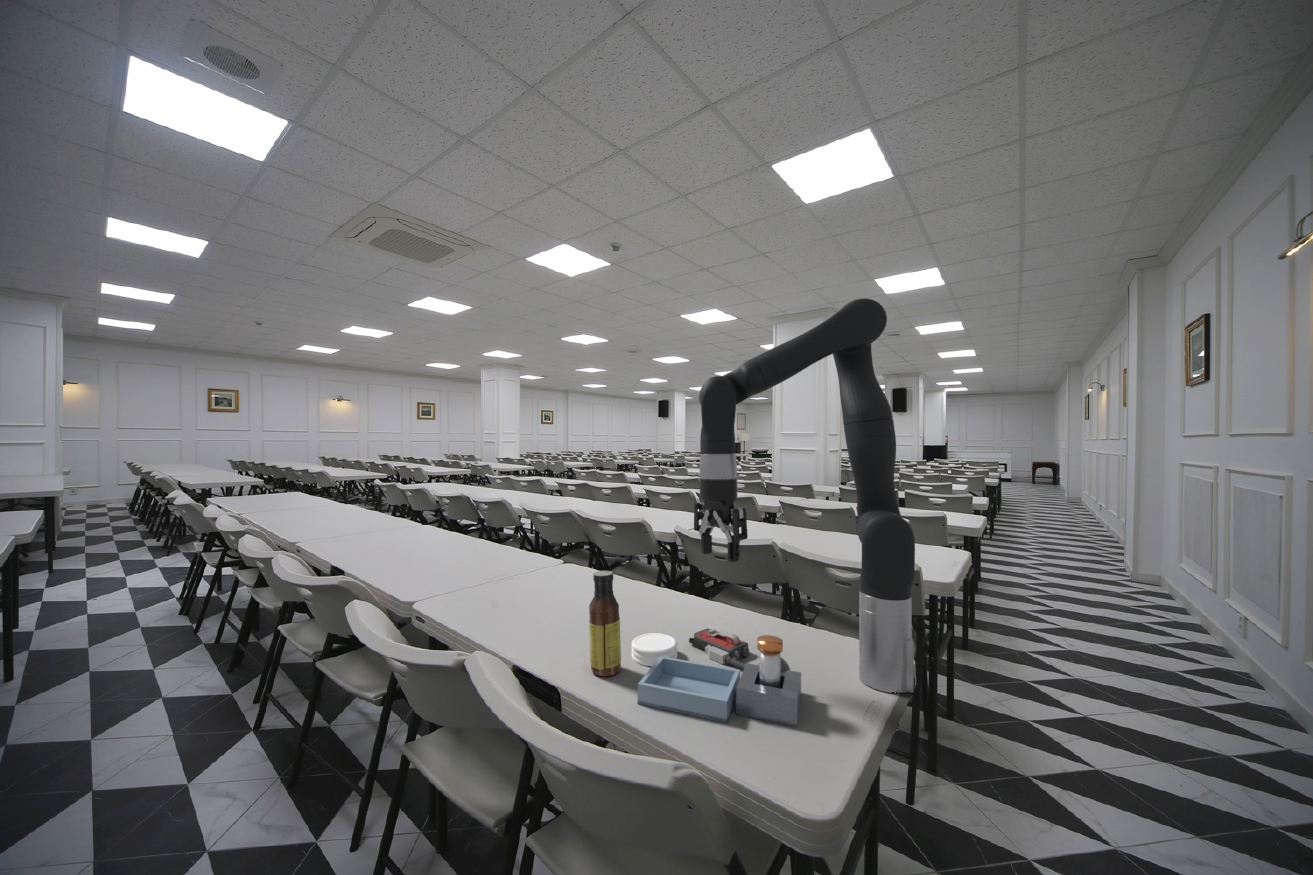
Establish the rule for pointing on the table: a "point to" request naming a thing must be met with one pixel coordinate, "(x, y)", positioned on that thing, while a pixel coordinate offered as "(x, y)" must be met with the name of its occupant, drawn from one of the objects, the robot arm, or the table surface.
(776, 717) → the block
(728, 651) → the walkie-talkie
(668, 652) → the white round disc stack
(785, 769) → the table surface
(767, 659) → the lock pin
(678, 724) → the table surface
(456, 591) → the table surface
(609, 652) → the sauce bottle
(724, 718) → the tray
